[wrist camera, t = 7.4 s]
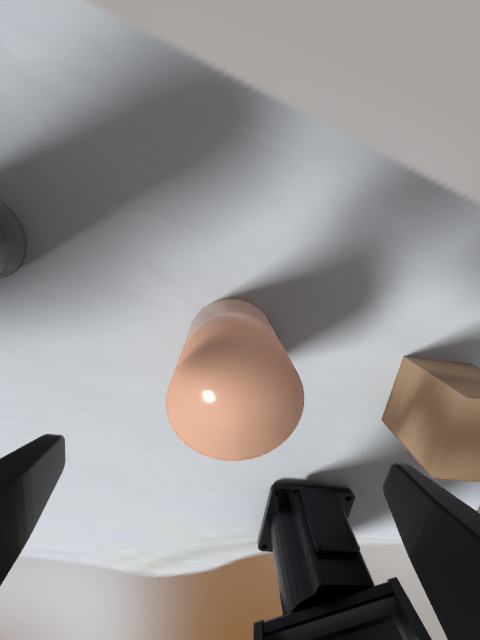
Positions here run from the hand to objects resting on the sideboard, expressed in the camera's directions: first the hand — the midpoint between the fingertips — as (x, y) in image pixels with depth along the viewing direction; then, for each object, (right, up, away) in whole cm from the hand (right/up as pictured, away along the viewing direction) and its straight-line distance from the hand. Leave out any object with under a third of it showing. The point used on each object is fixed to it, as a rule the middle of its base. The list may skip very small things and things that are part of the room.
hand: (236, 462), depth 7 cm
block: (+13, -1, +12) cm, 18 cm away
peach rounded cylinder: (0, +3, +9) cm, 10 cm away
